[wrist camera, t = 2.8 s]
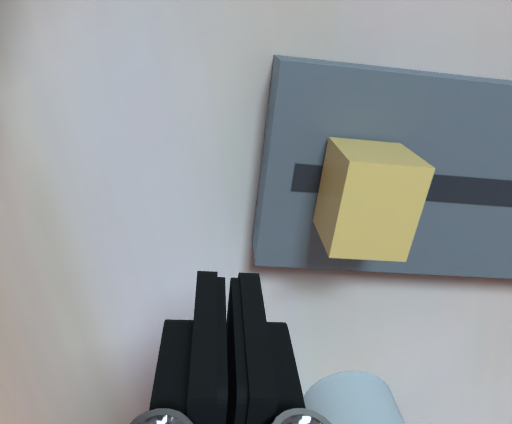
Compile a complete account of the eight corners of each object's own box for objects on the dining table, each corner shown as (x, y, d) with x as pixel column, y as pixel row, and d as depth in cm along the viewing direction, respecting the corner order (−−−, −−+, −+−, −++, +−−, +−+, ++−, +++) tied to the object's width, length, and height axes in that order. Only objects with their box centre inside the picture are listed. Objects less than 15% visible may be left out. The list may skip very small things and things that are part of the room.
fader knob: (400, 143, 22) (435, 168, 18) (378, 224, 24) (405, 261, 20) (328, 136, 21) (349, 161, 18) (312, 220, 23) (328, 257, 20)
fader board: (625, 93, 25) (676, 103, 22) (545, 258, 30) (578, 283, 27) (274, 54, 22) (281, 60, 20) (252, 241, 28) (255, 266, 25)
